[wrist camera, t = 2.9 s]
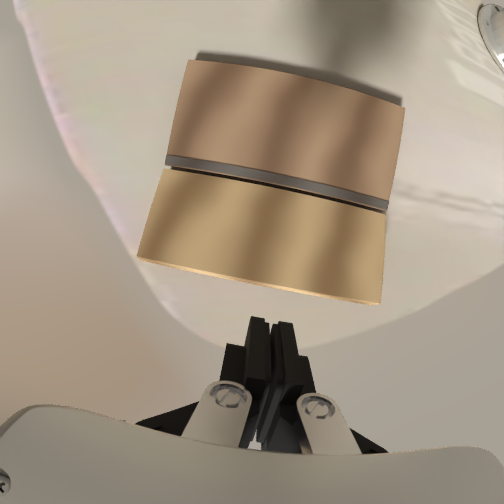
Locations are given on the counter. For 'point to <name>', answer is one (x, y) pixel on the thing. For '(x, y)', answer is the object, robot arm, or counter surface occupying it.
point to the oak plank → (265, 237)
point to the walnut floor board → (286, 132)
